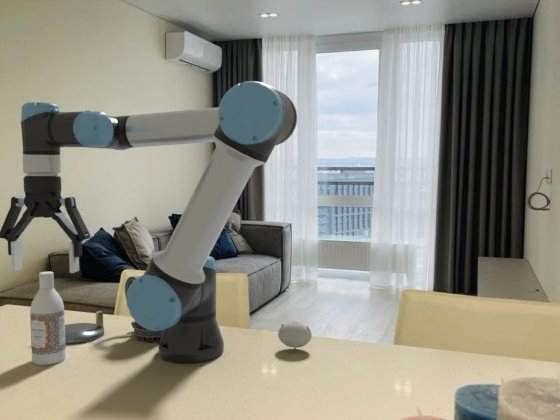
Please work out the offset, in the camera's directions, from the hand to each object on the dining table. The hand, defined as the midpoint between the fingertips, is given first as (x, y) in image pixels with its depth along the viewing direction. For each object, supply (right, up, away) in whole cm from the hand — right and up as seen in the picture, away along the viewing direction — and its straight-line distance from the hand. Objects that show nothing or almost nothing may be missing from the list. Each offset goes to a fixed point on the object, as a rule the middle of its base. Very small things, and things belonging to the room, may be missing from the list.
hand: (45, 270), depth 117 cm
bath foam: (0, -21, +2) cm, 21 cm away
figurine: (+56, -20, +9) cm, 60 cm away
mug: (+18, -19, +21) cm, 33 cm away
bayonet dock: (-1, -19, +19) cm, 27 cm away
